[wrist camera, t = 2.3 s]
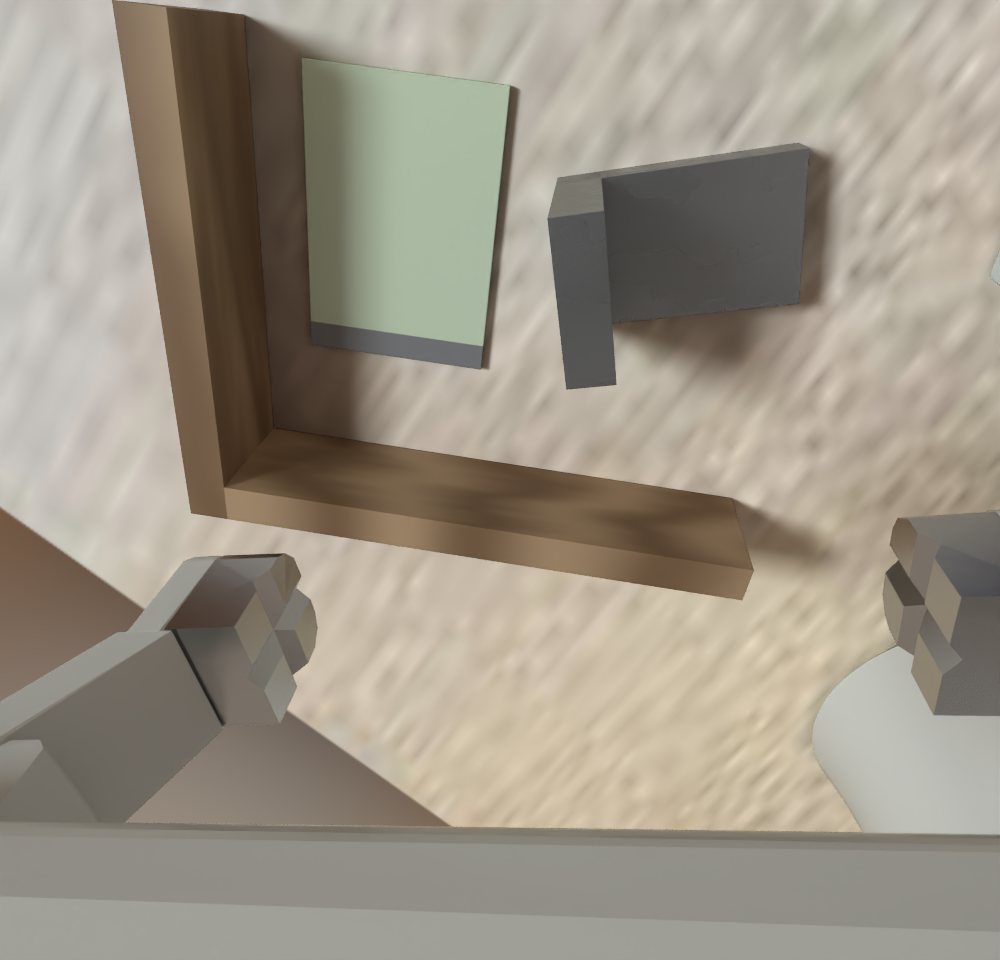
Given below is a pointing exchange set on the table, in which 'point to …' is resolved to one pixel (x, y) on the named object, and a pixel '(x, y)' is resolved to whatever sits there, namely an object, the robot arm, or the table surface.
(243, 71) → the wooden corner frame
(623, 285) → the bracket
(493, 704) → the table surface
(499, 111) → the mat
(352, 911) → the robot arm
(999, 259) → the supplement box
